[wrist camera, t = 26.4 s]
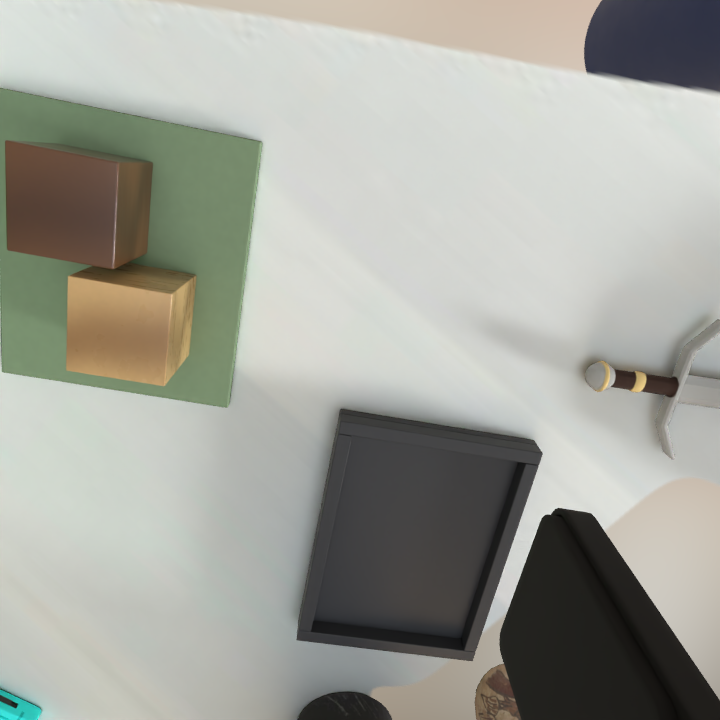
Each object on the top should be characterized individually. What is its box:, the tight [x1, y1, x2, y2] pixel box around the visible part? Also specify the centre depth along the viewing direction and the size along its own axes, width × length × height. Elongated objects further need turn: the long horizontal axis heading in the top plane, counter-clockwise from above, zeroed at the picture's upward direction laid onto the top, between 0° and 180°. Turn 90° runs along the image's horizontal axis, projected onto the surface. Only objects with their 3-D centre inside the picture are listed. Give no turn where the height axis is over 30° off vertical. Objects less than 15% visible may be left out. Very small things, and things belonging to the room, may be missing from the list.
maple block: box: [66, 263, 197, 386], centre depth 27 cm, size 4×4×4 cm
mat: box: [0, 88, 262, 408], centre depth 28 cm, size 14×12×1 cm
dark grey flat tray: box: [297, 409, 543, 661], centre depth 34 cm, size 16×12×2 cm
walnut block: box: [5, 140, 153, 269], centre depth 25 cm, size 4×4×4 cm
